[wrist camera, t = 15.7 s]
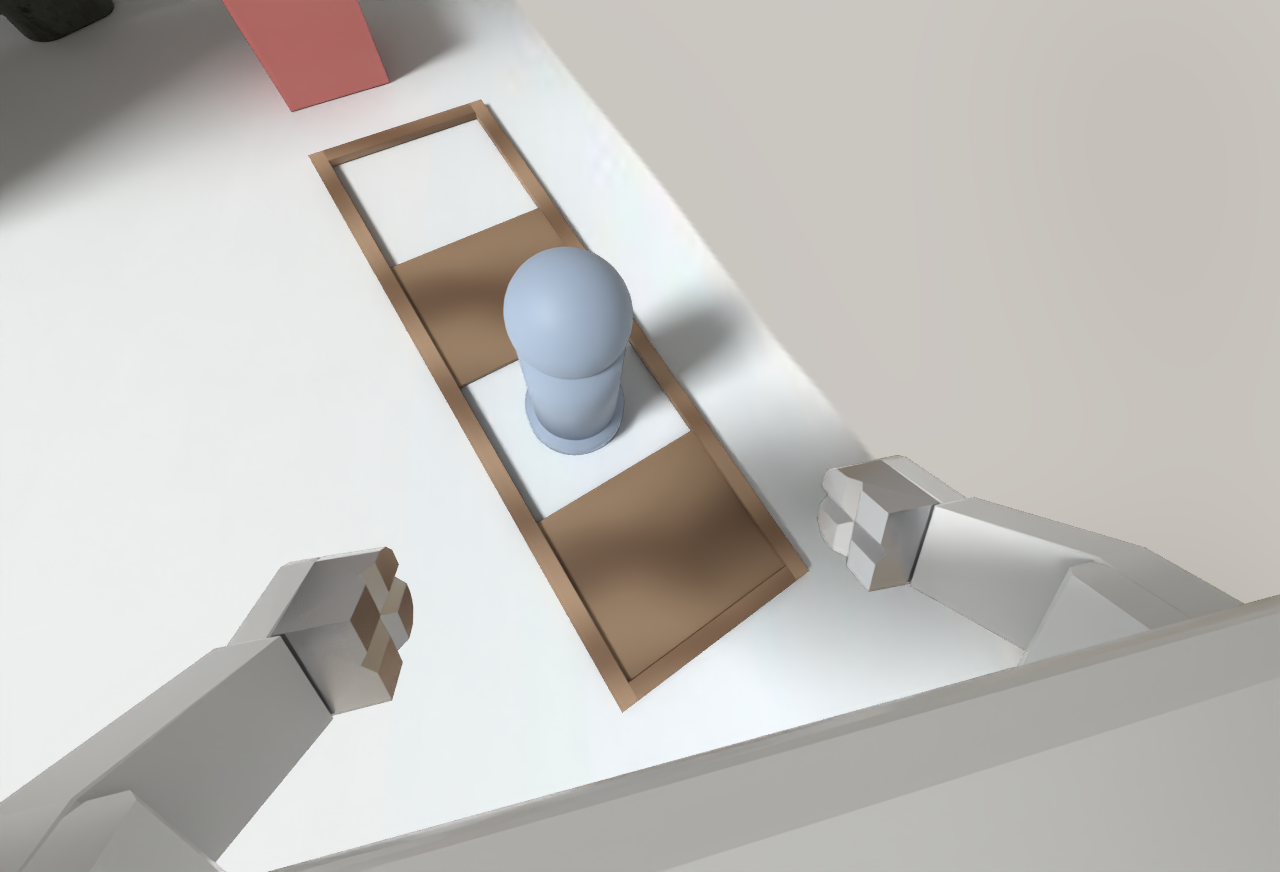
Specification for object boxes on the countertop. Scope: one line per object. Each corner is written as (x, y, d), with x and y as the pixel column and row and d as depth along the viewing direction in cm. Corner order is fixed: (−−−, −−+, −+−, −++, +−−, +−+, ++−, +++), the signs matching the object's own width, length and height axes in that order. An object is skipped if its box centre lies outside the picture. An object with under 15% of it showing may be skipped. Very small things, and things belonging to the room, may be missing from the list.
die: (253, 44, 28) (166, -95, 22) (349, 19, 30) (291, -117, 24) (291, 111, 27) (210, -18, 21) (389, 82, 28) (339, -46, 23)
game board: (312, 161, 26) (308, 155, 26) (482, 105, 29) (480, 99, 28) (621, 710, 19) (622, 712, 19) (805, 570, 22) (809, 570, 22)
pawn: (508, 409, 23) (443, 269, 13) (576, 350, 24) (568, 182, 14) (575, 474, 22) (564, 383, 12) (641, 410, 24) (683, 279, 13)
